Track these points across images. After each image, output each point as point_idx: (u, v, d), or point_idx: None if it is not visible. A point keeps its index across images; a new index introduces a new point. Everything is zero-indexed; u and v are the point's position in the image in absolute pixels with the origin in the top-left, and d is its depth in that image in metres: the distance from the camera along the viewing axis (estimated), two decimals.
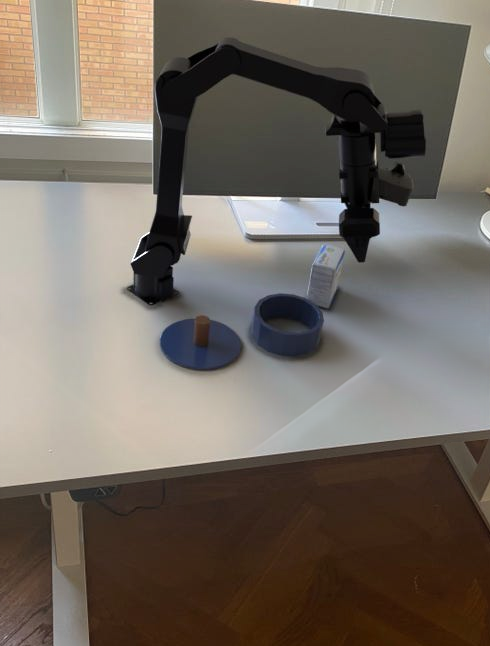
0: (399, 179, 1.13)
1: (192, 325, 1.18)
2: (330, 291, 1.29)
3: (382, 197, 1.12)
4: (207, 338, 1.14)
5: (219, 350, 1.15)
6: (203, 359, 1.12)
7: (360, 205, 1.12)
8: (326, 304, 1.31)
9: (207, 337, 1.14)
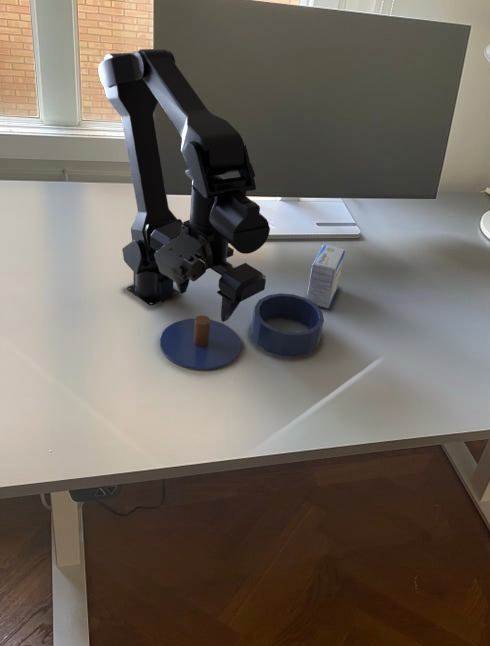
0: (175, 253, 0.99)
1: (192, 325, 1.18)
2: (330, 291, 1.29)
3: None
4: (207, 338, 1.14)
5: (219, 350, 1.15)
6: (203, 359, 1.12)
7: None
8: (326, 304, 1.31)
9: (207, 337, 1.14)
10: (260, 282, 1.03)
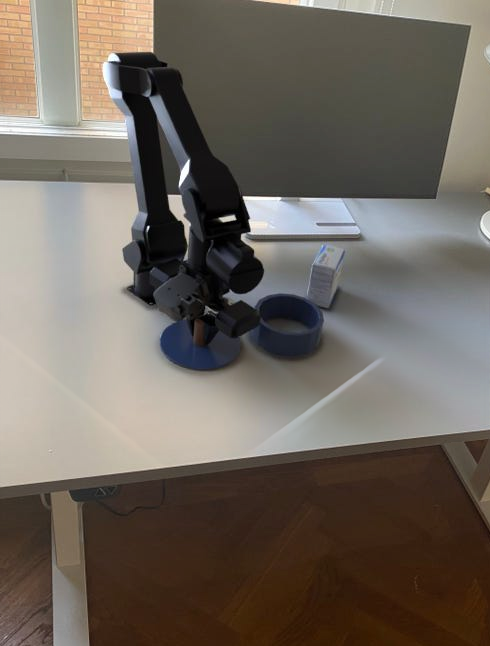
0: (173, 293, 1.03)
1: None
2: (330, 291, 1.29)
3: None
4: None
5: (219, 350, 1.15)
6: (203, 359, 1.12)
7: None
8: (326, 304, 1.31)
9: None
10: (255, 318, 1.07)
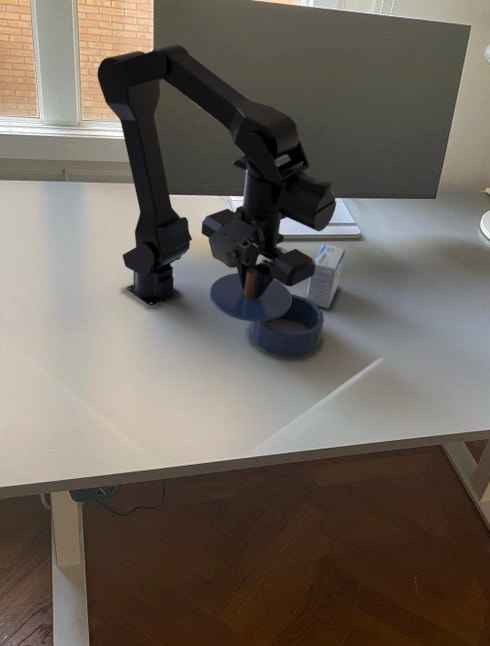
0: (229, 238, 1.01)
1: None
2: (330, 291, 1.29)
3: None
4: None
5: (270, 303, 1.13)
6: (255, 311, 1.10)
7: None
8: (326, 304, 1.31)
9: None
10: (310, 267, 1.05)
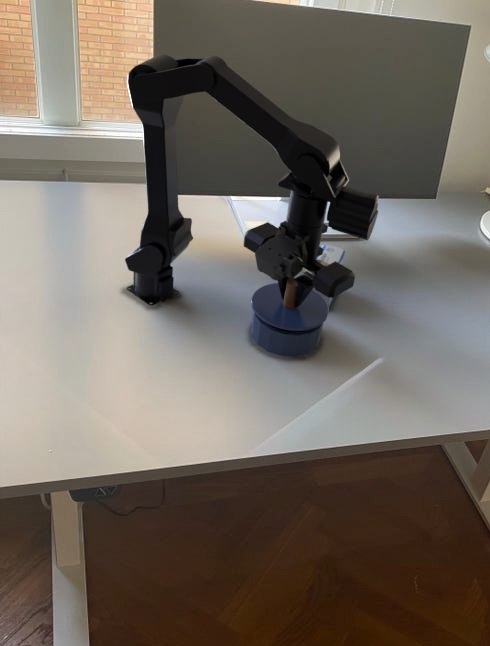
0: (274, 252, 1.06)
1: None
2: None
3: None
4: None
5: (309, 312, 1.18)
6: (295, 320, 1.15)
7: None
8: None
9: None
10: (350, 279, 1.10)
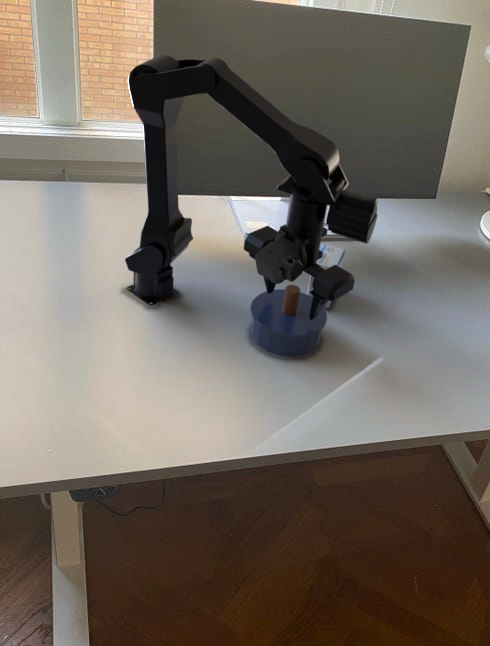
0: (274, 256, 1.07)
1: (279, 295, 1.22)
2: None
3: None
4: (296, 307, 1.18)
5: (307, 319, 1.18)
6: (294, 327, 1.16)
7: None
8: (326, 304, 1.31)
9: (296, 306, 1.18)
10: (350, 282, 1.10)
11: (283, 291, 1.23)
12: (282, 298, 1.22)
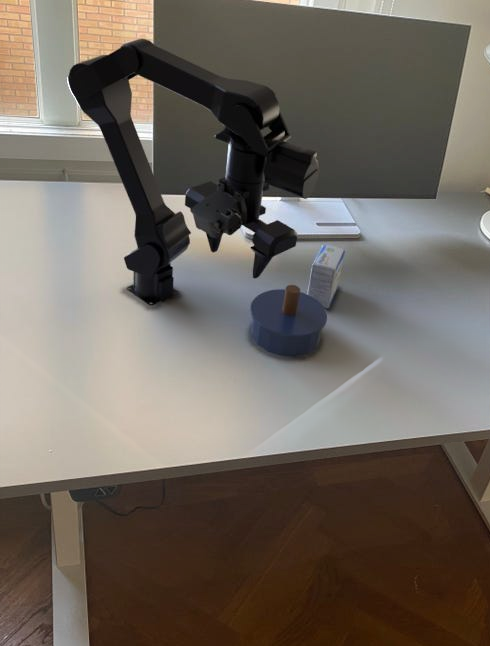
0: (212, 208, 1.03)
1: (279, 295, 1.22)
2: (330, 291, 1.29)
3: None
4: (296, 307, 1.18)
5: (307, 319, 1.18)
6: (294, 327, 1.16)
7: None
8: (326, 304, 1.31)
9: (296, 306, 1.18)
10: (292, 238, 1.07)
11: (283, 291, 1.23)
12: (282, 298, 1.22)
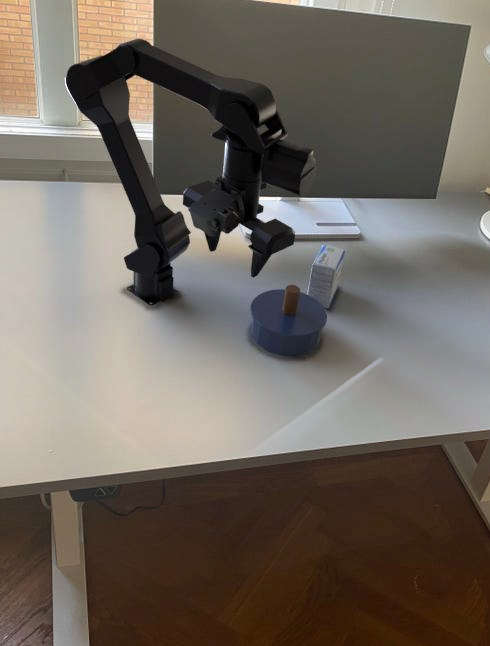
0: (209, 207, 1.03)
1: (279, 295, 1.22)
2: (330, 291, 1.29)
3: None
4: (296, 307, 1.18)
5: (307, 319, 1.18)
6: (294, 327, 1.16)
7: None
8: (326, 304, 1.31)
9: (296, 306, 1.18)
10: (290, 236, 1.07)
11: (283, 291, 1.23)
12: (282, 298, 1.22)
